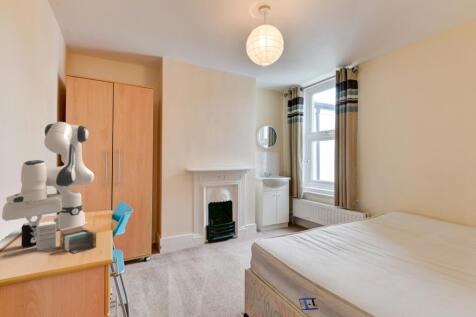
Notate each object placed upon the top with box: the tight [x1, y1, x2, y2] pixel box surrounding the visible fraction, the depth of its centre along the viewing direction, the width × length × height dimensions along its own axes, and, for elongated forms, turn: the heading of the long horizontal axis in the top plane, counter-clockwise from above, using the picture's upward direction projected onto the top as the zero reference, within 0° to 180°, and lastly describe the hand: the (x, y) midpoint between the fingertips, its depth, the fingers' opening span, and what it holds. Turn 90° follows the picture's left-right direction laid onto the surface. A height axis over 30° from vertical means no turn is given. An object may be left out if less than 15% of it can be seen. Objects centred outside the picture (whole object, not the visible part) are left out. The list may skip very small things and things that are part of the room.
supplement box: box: [35, 220, 57, 252], centre depth 116 cm, size 7×7×13 cm
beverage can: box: [20, 221, 36, 249], centre depth 118 cm, size 7×7×12 cm
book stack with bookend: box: [59, 225, 97, 254], centre depth 116 cm, size 18×10×9 cm, turn 56°
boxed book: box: [64, 231, 88, 252], centre depth 115 cm, size 4×9×7 cm, turn 146°
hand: (34, 225), depth 102 cm, fingers closed
